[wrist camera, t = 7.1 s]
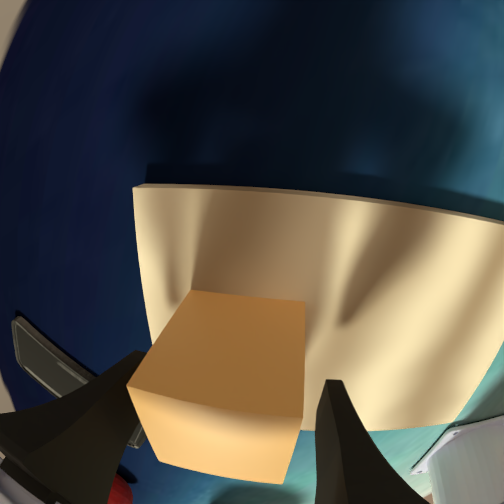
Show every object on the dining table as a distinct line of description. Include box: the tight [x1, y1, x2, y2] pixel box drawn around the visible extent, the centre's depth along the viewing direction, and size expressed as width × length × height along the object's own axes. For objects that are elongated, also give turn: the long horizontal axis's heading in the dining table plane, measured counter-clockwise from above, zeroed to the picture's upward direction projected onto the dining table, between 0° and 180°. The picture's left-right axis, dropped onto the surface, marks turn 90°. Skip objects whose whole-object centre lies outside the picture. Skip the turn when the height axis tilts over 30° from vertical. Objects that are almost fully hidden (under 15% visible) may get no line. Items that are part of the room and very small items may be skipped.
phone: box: [12, 316, 147, 448], centre depth 20 cm, size 8×1×15 cm
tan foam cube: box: [126, 290, 305, 484], centre depth 11 cm, size 5×5×6 cm
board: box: [133, 184, 504, 431], centre depth 12 cm, size 20×14×4 cm
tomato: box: [107, 473, 133, 504], centre depth 25 cm, size 9×9×8 cm
